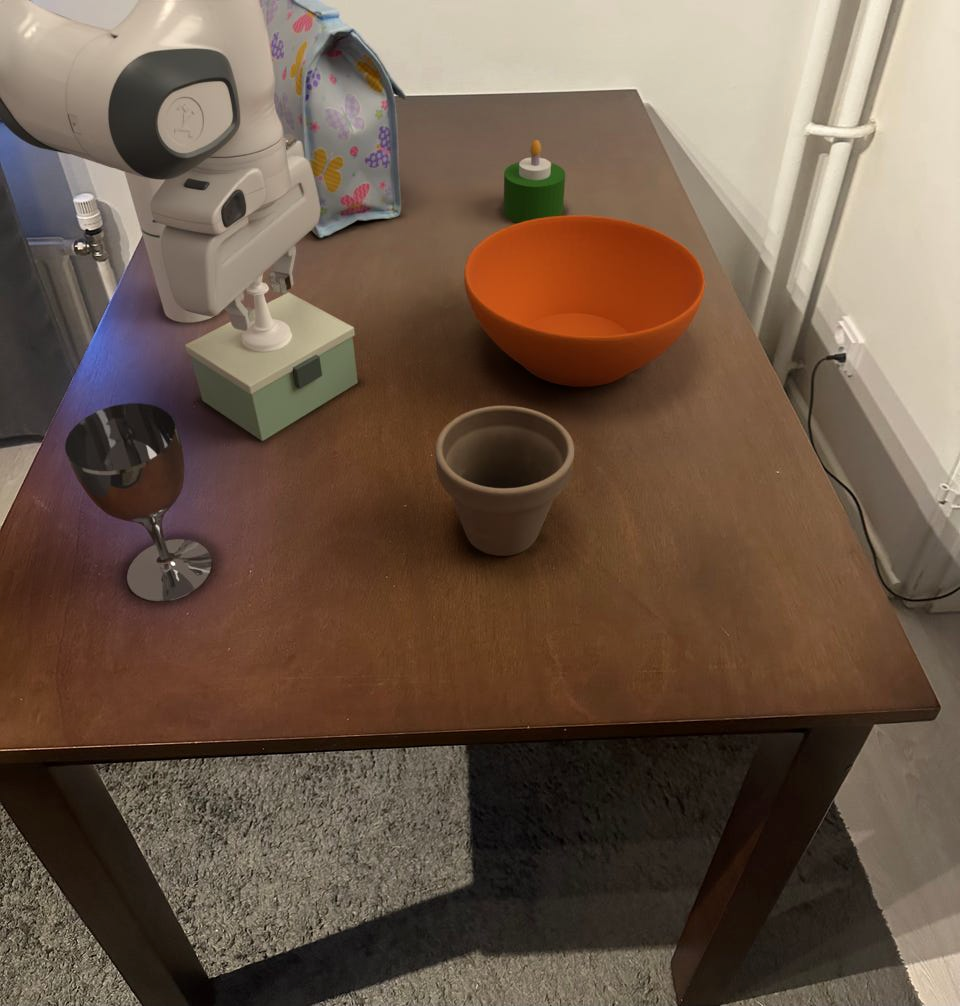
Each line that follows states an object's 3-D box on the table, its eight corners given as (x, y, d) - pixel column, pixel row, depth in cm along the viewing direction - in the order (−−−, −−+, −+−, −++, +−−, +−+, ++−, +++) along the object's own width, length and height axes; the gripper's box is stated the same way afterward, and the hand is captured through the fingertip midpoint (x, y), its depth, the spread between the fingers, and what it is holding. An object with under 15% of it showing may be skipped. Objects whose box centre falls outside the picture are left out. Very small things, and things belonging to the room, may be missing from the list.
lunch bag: (423, 213, 124) (413, 3, 106) (314, 247, 117) (283, 28, 99) (347, 158, 137) (325, -38, 119) (245, 185, 131) (206, -18, 112)
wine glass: (185, 523, 81) (141, 389, 70) (234, 569, 77) (196, 436, 66) (104, 569, 77) (45, 435, 66) (152, 621, 73) (96, 487, 62)
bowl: (472, 288, 110) (472, 212, 103) (677, 294, 109) (691, 217, 102) (457, 416, 92) (455, 333, 85) (703, 424, 91) (721, 341, 84)
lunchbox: (265, 445, 88) (252, 388, 84) (196, 398, 94) (181, 343, 89) (363, 384, 96) (357, 329, 91) (294, 344, 101) (285, 290, 96)
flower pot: (511, 470, 86) (513, 385, 79) (592, 536, 79) (603, 451, 72) (413, 523, 81) (407, 438, 74) (492, 599, 74) (493, 513, 67)
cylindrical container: (217, 322, 104) (165, 103, 87) (157, 322, 104) (92, 102, 87) (230, 290, 109) (183, 77, 92) (172, 290, 110) (115, 77, 92)
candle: (496, 221, 122) (497, 148, 115) (512, 195, 128) (513, 124, 121) (555, 229, 121) (559, 156, 114) (568, 202, 126) (573, 131, 119)
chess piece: (247, 324, 91) (227, 234, 84) (295, 324, 91) (279, 234, 84) (238, 352, 88) (217, 260, 81) (287, 352, 88) (271, 260, 81)
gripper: (268, 121, 86) (290, 252, 95) (136, 213, 72) (176, 355, 82) (326, 131, 84) (342, 263, 94) (202, 226, 70) (235, 370, 80)
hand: (264, 307), depth 88 cm, fingers open, 6 cm apart
